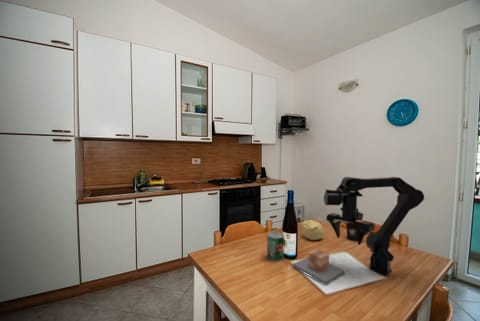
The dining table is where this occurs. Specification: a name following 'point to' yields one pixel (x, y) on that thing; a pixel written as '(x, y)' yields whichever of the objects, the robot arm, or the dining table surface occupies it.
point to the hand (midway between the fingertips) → (348, 240)
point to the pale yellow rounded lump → (312, 230)
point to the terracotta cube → (318, 260)
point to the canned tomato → (275, 246)
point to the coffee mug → (352, 232)
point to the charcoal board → (322, 276)
